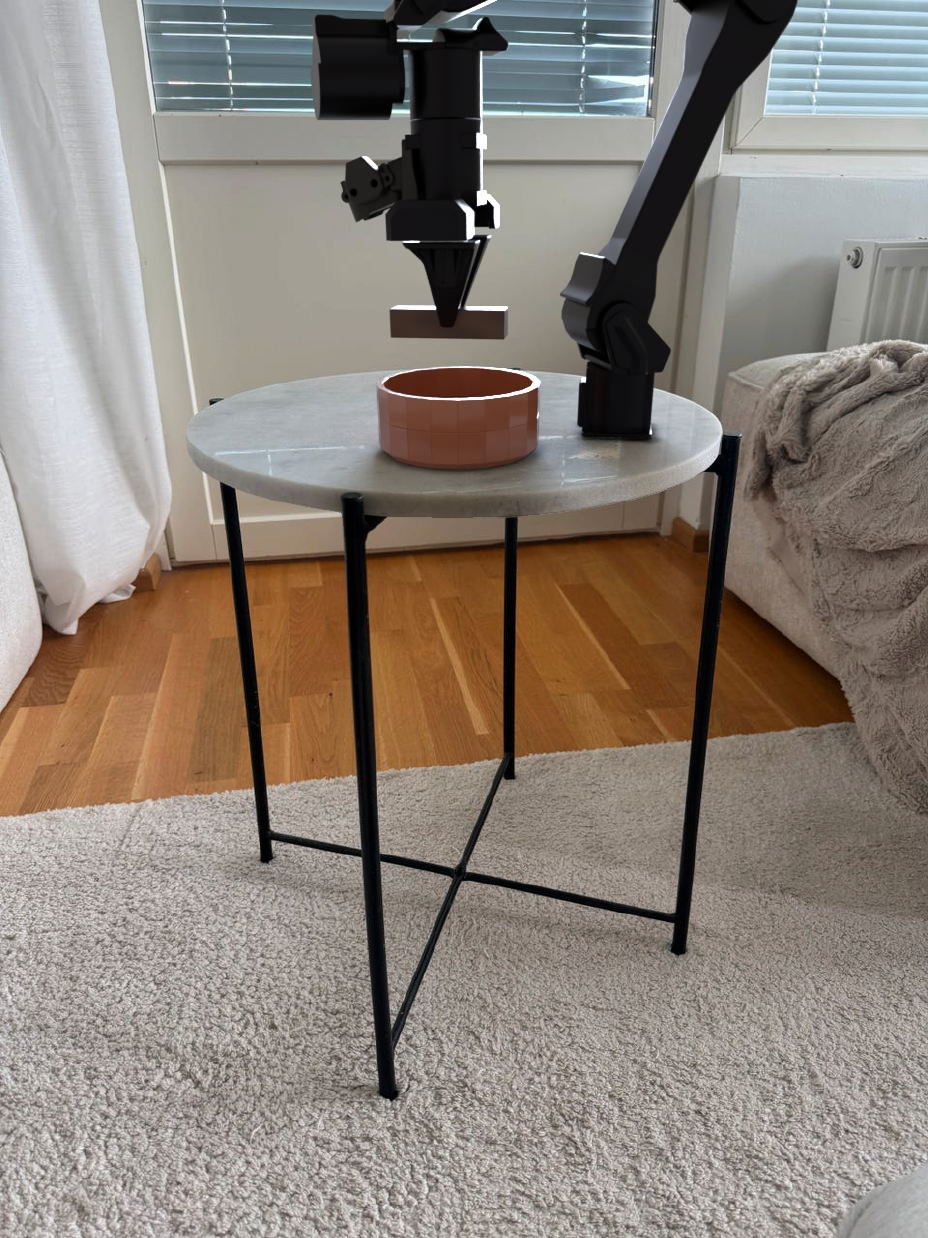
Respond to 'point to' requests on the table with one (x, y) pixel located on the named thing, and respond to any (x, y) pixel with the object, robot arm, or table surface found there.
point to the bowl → (458, 416)
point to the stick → (467, 326)
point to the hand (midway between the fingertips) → (449, 324)
